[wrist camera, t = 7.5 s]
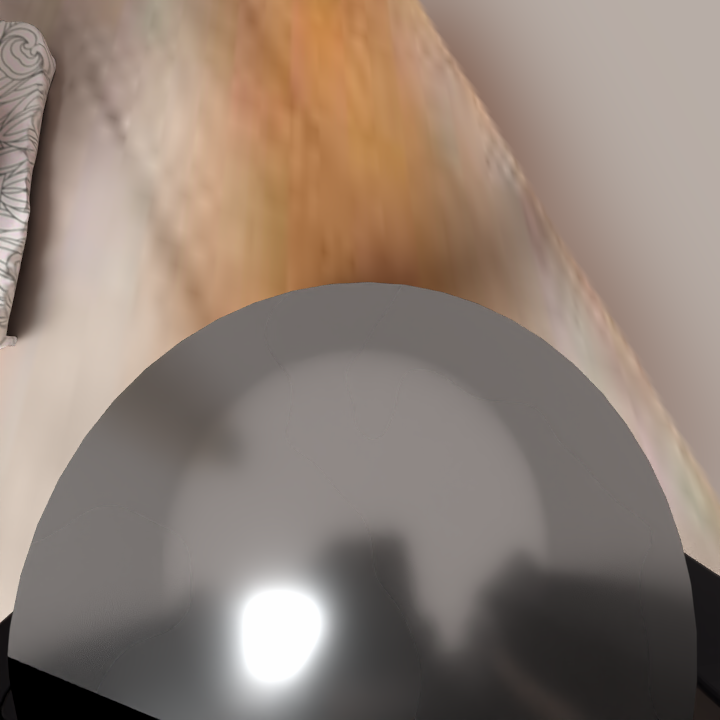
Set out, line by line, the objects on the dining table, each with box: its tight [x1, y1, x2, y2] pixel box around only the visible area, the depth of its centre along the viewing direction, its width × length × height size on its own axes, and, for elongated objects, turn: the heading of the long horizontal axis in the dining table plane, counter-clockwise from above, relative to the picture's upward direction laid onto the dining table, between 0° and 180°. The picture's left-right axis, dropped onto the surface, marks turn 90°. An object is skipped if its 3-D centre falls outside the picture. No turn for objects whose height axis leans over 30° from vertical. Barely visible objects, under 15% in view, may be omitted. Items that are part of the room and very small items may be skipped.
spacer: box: [8, 282, 697, 720], centre depth 8 cm, size 5×5×12 cm
